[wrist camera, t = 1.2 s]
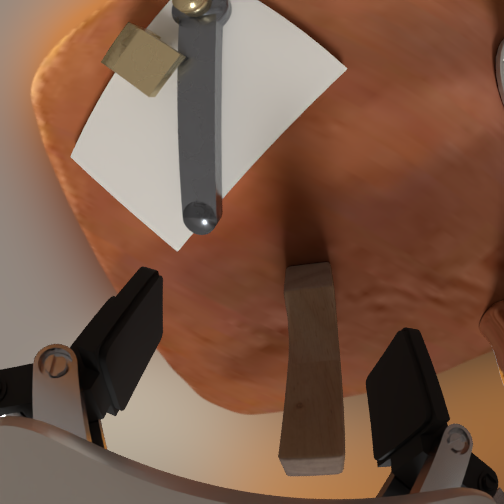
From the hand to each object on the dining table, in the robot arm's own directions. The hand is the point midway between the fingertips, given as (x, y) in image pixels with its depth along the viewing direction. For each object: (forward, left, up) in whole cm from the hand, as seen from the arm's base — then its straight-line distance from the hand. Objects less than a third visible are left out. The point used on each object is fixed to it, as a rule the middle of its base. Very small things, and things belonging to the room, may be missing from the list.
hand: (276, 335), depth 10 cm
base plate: (0, -12, -18) cm, 22 cm away
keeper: (-4, -17, -17) cm, 24 cm away
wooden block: (+7, +10, -18) cm, 22 cm away
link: (-1, -11, -16) cm, 20 cm away
